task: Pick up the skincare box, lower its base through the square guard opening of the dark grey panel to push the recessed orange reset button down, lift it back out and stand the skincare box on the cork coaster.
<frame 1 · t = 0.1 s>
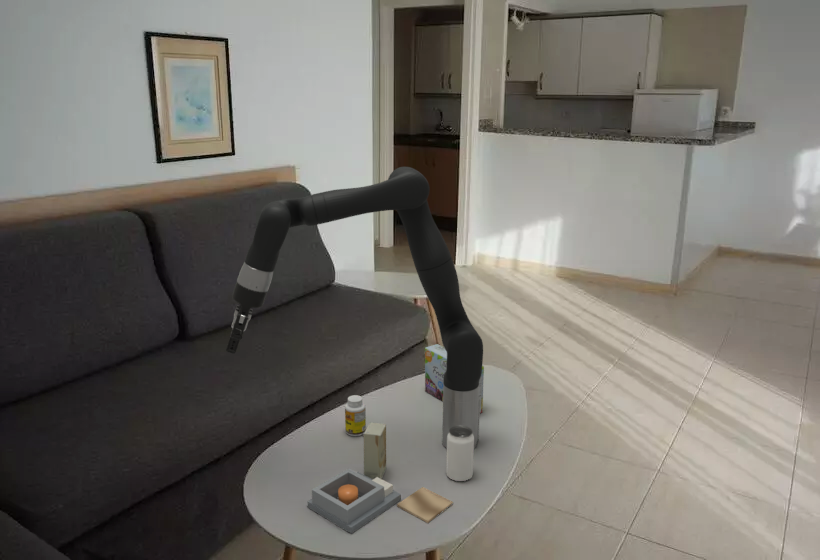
hand: (232, 345, 160), 31 cm above the table, tool tilted 20°, fingers open, 8 cm apart
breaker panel: (354, 503, 152), on the table
can: (459, 475, 163), on the table
cork coaster: (425, 505, 151), on the table
snack box: (452, 402, 201), on the table
supplement bottle: (355, 432, 183), on the table
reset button: (348, 495, 149), point 3 cm above the table, slide at 0.0 cm
skincare box: (375, 473, 164), on the table
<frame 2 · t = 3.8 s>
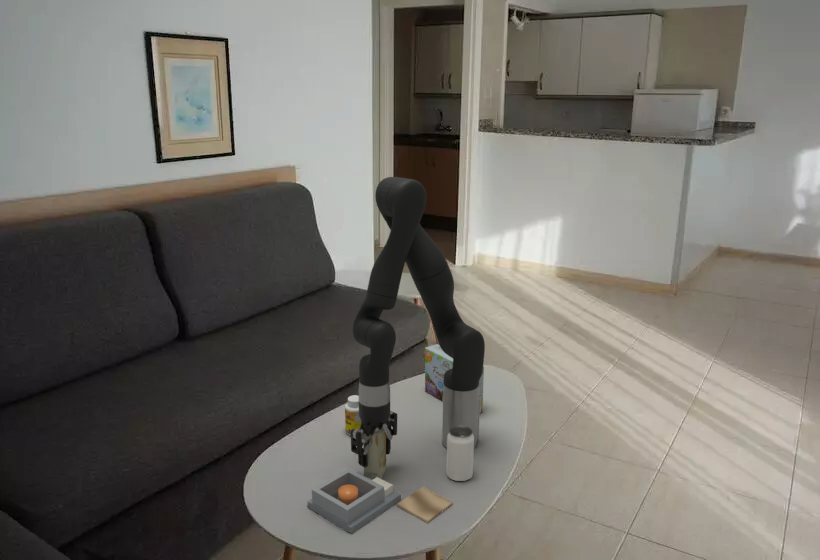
hand: (374, 459, 163), 4 cm above the table, tool pointing down, fingers closed on skincare box, 7 cm apart
skincare box: (375, 473, 164), on the table, touching gripper
everything else where it was.
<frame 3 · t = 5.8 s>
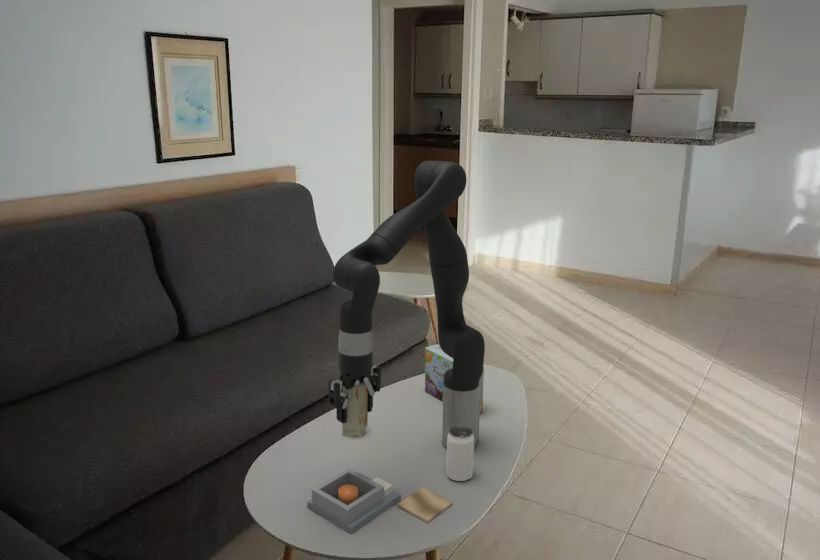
hand: (355, 416, 150), 20 cm above the table, tool pointing down, fingers closed on skincare box, 7 cm apart
skincare box: (355, 432, 151), point 16 cm above the table, touching gripper
everything else where it was.
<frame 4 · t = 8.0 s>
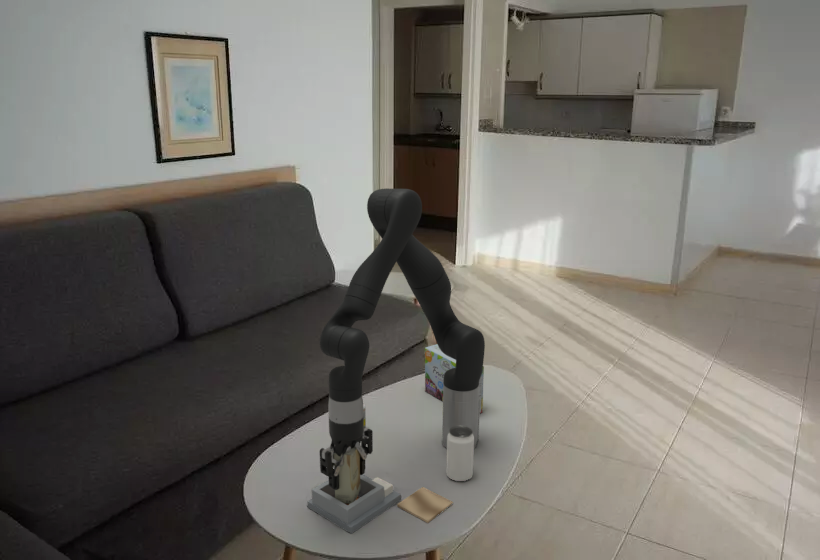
hand: (347, 480, 148), 7 cm above the table, tool pointing down, fingers closed on skincare box, 7 cm apart
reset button: (348, 501, 150), point 2 cm above the table, slide at 1.4 cm, touching skincare box
skincare box: (348, 496, 150), point 3 cm above the table, touching gripper, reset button
everything else where it was.
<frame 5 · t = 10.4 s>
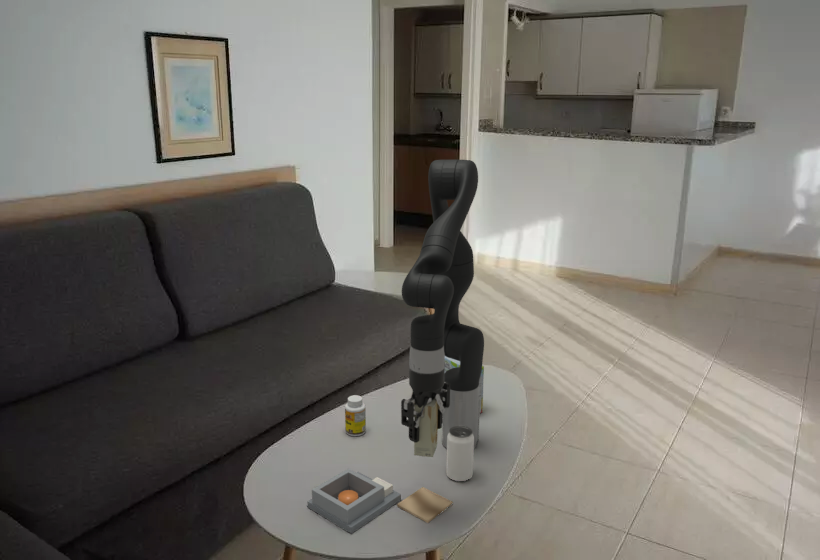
hand: (425, 433, 146), 18 cm above the table, tool pointing down, fingers closed on skincare box, 7 cm apart
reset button: (348, 501, 150), point 2 cm above the table, slide at 1.4 cm
skincare box: (425, 450, 147), point 14 cm above the table, touching gripper
everything else where it was.
when the fingers open (5 cm above the table, at t = 12.4 s): skincare box stays where it is, resting on cork coaster.
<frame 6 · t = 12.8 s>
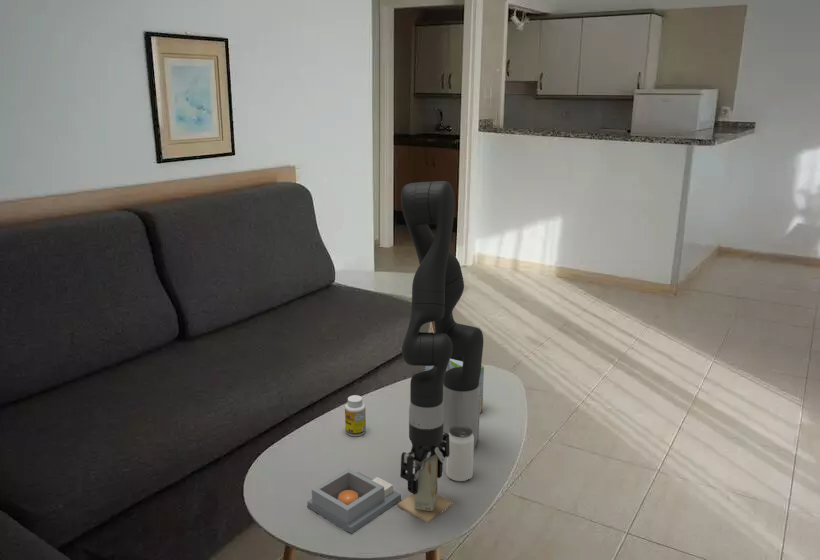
hand: (425, 484, 150), 5 cm above the table, tool pointing down, fingers open, 8 cm apart
skincare box: (426, 503, 151), resting on cork coaster
everything else where it was.
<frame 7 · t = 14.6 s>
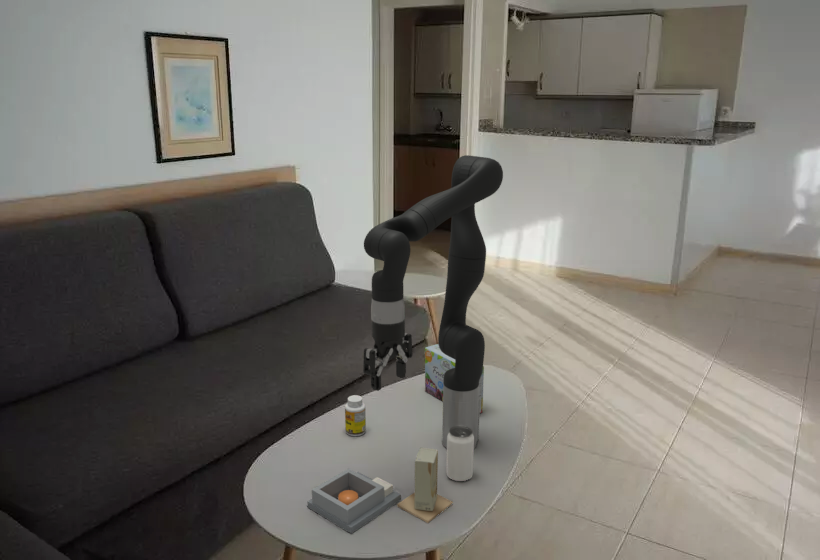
hand: (388, 383, 153), 26 cm above the table, tool pointing down, fingers open, 8 cm apart
nothing on the table moved.
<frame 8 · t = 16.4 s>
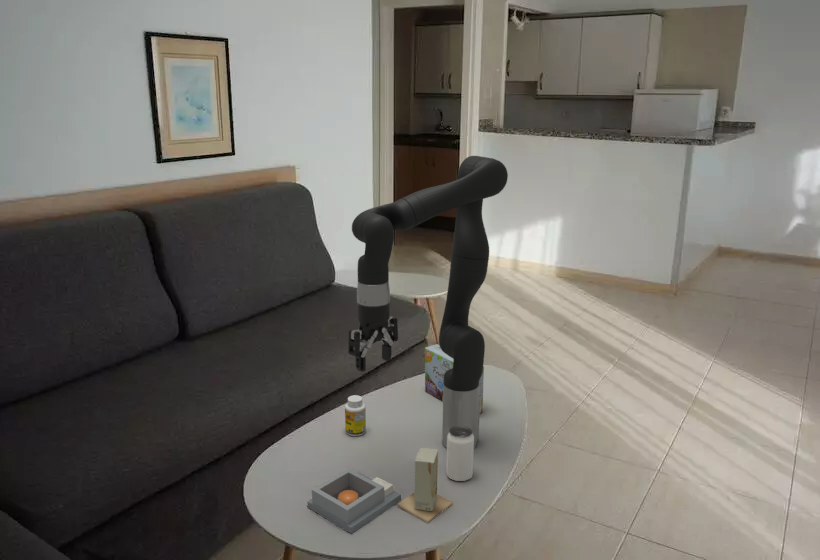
hand: (374, 365, 157), 28 cm above the table, tool pointing down, fingers open, 8 cm apart
nothing on the table moved.
at the end: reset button slide at 1.4 cm; skincare box 0.3 cm from the cork coaster (horizontally); skincare box tilted 0° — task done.
